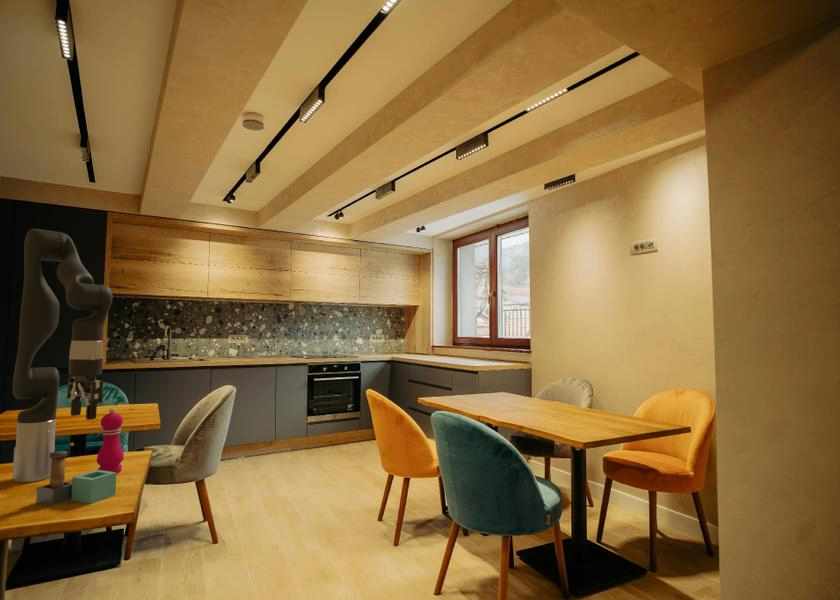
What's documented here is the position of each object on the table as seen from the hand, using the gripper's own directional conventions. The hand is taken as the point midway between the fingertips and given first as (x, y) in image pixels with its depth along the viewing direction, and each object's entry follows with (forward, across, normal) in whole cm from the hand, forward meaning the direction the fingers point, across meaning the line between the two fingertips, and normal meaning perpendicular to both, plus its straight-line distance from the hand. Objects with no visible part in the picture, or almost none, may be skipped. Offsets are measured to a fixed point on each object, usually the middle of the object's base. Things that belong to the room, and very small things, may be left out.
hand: (83, 417), depth 129 cm
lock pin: (+22, -3, -4) cm, 22 cm away
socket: (+21, +3, +2) cm, 22 cm away
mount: (+22, -3, -4) cm, 22 cm away
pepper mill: (+22, -18, +16) cm, 32 cm away
